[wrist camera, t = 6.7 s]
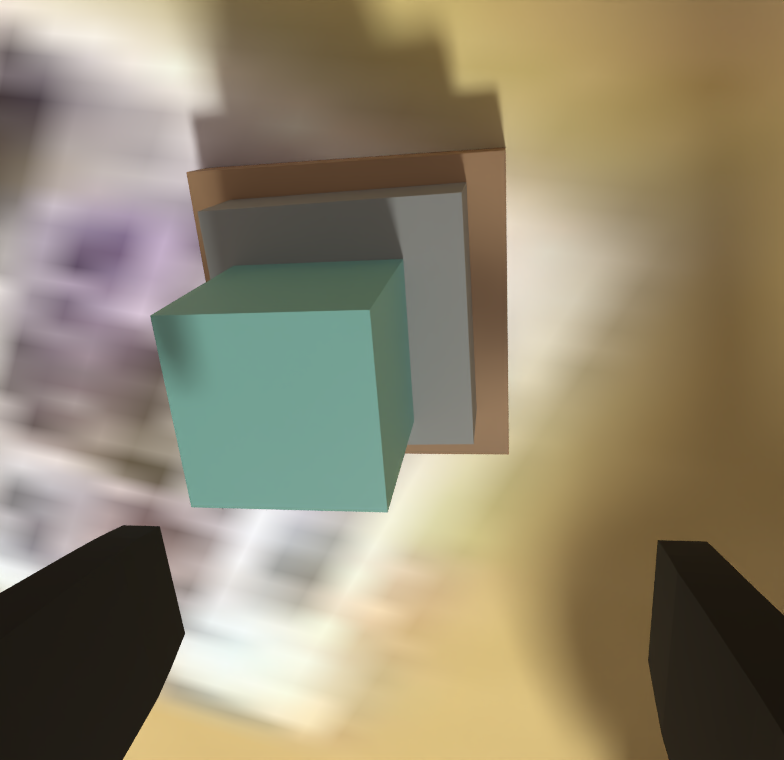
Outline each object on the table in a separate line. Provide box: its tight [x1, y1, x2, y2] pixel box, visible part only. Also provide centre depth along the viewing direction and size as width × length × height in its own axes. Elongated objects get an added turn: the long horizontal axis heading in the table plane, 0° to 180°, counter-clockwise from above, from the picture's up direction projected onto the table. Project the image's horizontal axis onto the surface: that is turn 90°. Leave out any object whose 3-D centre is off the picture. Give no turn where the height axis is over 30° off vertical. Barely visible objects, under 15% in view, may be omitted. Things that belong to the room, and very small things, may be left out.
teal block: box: [150, 259, 414, 512], centre depth 14 cm, size 4×4×4 cm
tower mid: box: [198, 182, 477, 445], centre depth 17 cm, size 6×6×2 cm
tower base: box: [187, 148, 509, 454], centre depth 19 cm, size 8×8×2 cm
